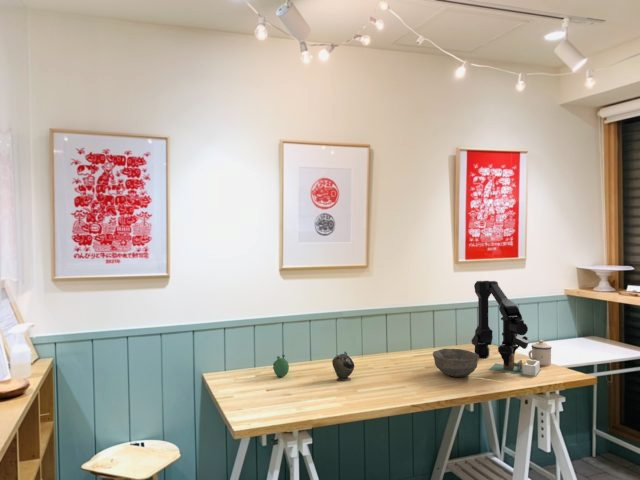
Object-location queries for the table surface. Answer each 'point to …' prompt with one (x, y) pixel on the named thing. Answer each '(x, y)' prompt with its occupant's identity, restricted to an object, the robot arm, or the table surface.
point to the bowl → (455, 361)
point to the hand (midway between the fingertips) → (509, 363)
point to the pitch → (501, 369)
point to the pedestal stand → (513, 364)
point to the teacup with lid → (541, 352)
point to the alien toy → (281, 366)
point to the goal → (531, 367)
